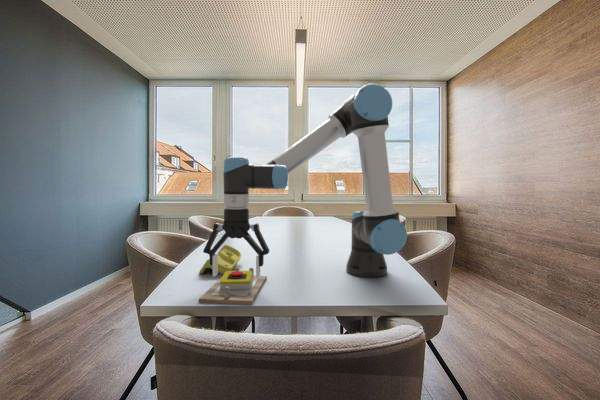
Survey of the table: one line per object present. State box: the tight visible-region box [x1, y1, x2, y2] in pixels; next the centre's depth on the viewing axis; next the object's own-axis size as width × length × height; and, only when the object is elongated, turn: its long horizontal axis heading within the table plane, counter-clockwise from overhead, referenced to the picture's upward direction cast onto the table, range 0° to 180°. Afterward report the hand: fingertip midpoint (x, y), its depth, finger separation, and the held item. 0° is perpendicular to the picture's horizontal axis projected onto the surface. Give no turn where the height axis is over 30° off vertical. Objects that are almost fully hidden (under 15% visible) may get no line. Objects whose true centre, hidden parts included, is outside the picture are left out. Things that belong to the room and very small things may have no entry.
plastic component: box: [199, 244, 242, 276], centre depth 123 cm, size 20×7×10 cm
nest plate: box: [198, 266, 268, 305], centre depth 99 cm, size 23×15×4 cm, turn 176°
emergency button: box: [219, 270, 253, 294], centre depth 99 cm, size 9×4×15 cm
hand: (236, 275), depth 99 cm, fingers open, 13 cm apart
